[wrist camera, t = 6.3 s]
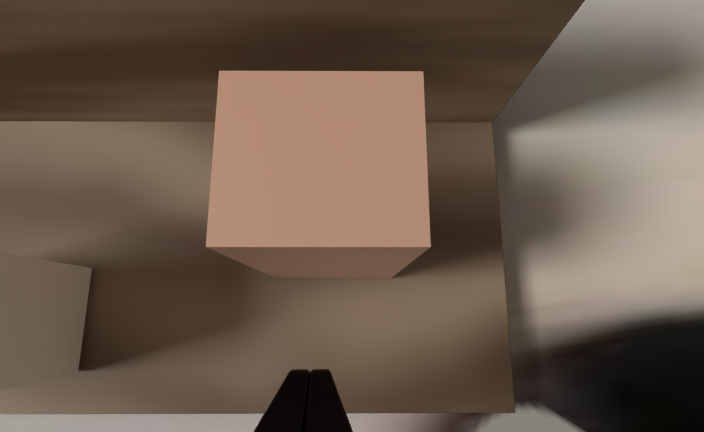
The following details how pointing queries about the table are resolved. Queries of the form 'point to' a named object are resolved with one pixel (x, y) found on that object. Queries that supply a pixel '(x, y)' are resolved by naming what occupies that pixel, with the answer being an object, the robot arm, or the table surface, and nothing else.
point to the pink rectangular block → (320, 172)
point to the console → (194, 191)
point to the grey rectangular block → (40, 319)
